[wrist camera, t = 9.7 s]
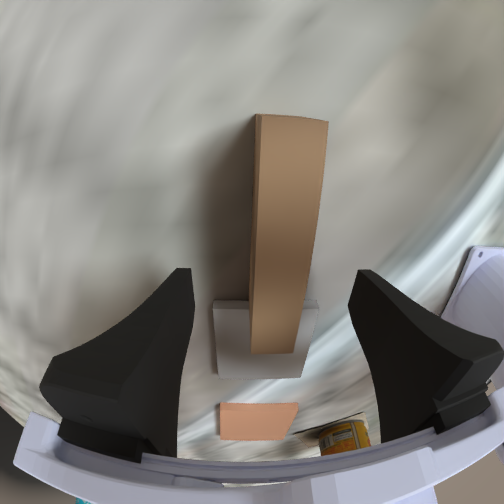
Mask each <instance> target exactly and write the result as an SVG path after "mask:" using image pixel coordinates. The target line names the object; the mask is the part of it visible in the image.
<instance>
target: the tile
mask: <svg viewBox="0 0 504 504" xmlns="http://www.w3.org/2000/svg"><path fill="white" fill-rule="evenodd" d="M298 410H299V409H298V403H278V404H245V403H220V440H246V441H257V440H283V439H284V437H285V435H286V433H287V431H288V430H289V428H290V426H291V424H292V422H293V420H294V418H295V416H296V414H297V412H298Z"/></svg>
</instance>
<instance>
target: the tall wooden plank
mask: <svg viewBox="0 0 504 504" xmlns="http://www.w3.org/2000/svg"><path fill="white" fill-rule="evenodd" d="M327 134H328V121H323V120H318V119H312V118H306V117H299V116H288V115H273V114H256V119H255V145H254V171H253V198H252V224H251V251H250V279H249V301H233V300H214V302H213V319H214V332H215V344H216V355H217V365H218V375H219V379H282V378H300V377H301V374H302V371H303V368H304V364H305V361H306V357H307V354H308V350H309V347H310V343H311V339H312V335H313V332H314V328H315V324H316V320H317V316H318V312H319V306H318V303H317V300H304V299H305V293H306V288H307V282H308V277H309V271H310V265H311V259H312V253H313V247H314V241H315V234H316V227H317V220H318V213H319V206H320V198H321V190H322V182H323V174H324V165H325V155H326V145H327Z"/></svg>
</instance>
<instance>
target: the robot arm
mask: <svg viewBox="0 0 504 504" xmlns="http://www.w3.org/2000/svg"><path fill="white" fill-rule="evenodd" d="M348 309H349V313H350V317H351V320H352V324H353V327H354V329H355V332H356V334H357V337H358V339H359V342H360V344H361V347H362V349H363V352H364V354H365V357H366V359H367V362H368V365H369V368H370V371H371V375H372V379H373V383H374V388H375V393H376V398H377V404H378V412H379V420H380V433H381V444H378V445H374V446H370V447H366V448H362V449H357V450H353V451H348V452H343V453H337V454H332V455H325V456H319V457H311V458H303V459H294V460H282V461H264V462H221V461H203V460H191V459H182V458H177V424H178V407H179V394H180V384H181V376H182V370H183V365H184V361H185V357H186V353H187V348H188V344H189V340H190V336H191V332H192V328H193V321H194V312H195V301H194V292H193V283H192V273H191V268H176V269H175V270H174V271H173V272H172V273H171V275H170V276H169V277H168V278H167V279H166V280H165V281H164V282H163V283H162V284H161V285H160V286H159V287H158V288H157V289H156V291H155V292H154V293H153V294H152V295H151V296H150V297H149V298H148V299H147V300H146V301H144V302H143V303H142V304H141V305H140V306H139V307H138V308H137V309H136V310H135V311H133V312H132V313H131V314H130V315H129V316H127V317H126V318H125V319H123V320H122V321H121V322H119V323H118V324H116V325H115V326H113V327H112V328H110V329H109V330H107V331H106V332H104V333H103V334H101V335H99V336H98V337H96V338H94V339H92V340H90V341H89V342H87V343H85V344H83V345H81V346H79V347H76V348H74V349H72V350H69V351H67V352H65V353H62V354H60V355H57V356H54V357H53V359H52V360H51V362H50V364H49V366H48V368H47V370H46V372H45V374H44V377H43V379H42V381H41V383H40V387H39V388H40V391H41V393H42V395H43V397H44V398H45V399H46V401H47V402H48V403H49V404H50V405H51V406H52V407H53V408H54V409H55V410H56V411H57V412H58V413H59V414H60V415H61V416H62V417H63V419H62V422H61V424H59V423H57V422H56V421H54V420H52V419H50V418H47V417H45V416H42V415H40V414H38V413H35V412H33V411H32V412H30V414H29V417H28V420H27V422H26V425H25V428H24V430H23V433H22V436H21V439H20V442H19V445H18V448H17V451H16V454H15V458H14V461H13V463H14V465H15V466H17V467H19V468H20V469H22V470H24V471H25V472H27V473H29V474H30V475H32V476H34V477H36V478H37V479H39V480H41V481H43V482H45V483H47V484H49V485H51V486H53V487H55V488H57V489H59V490H62V491H64V492H66V493H68V494H70V495H73V496H75V497H77V498H80V499H82V500H85V501H87V502H90V503H93V504H438V503H437V499H436V495H435V491H434V488H433V486H434V485H436V484H438V483H440V482H442V481H443V480H446V479H447V478H449V477H451V476H453V475H455V474H456V473H458V472H460V471H461V470H463V469H465V468H467V467H468V466H470V465H471V464H473V463H475V462H476V461H477V460H479V459H481V458H482V457H484V456H485V455H487V454H488V453H489V452H491V451H492V450H494V449H495V451H496V454H497V456H498V458H499V460H500V461H501V463H502V464H503V465H504V247H487V246H474V247H473V248H472V249H471V251H470V253H469V256H468V258H467V261H466V263H465V266H464V268H463V271H462V273H461V276H460V278H459V280H458V282H457V285H456V287H455V289H454V291H453V293H452V295H451V298H450V300H449V302H448V304H447V306H446V308H445V310H444V312H443V313H442V315H441V317H438V316H436V315H435V314H433V313H431V312H430V311H428V310H426V309H425V308H423V307H422V306H420V305H419V304H417V303H416V302H414V301H413V300H411V299H410V298H409V297H407V296H406V295H405V294H403V293H402V292H401V291H399V290H398V289H397V288H395V287H394V286H393V285H391V284H390V283H389V282H387V281H386V280H385V279H383V278H382V277H381V276H379V275H378V274H376V273H375V272H373V271H372V270H358V272H357V275H356V279H355V282H354V286H353V289H352V293H351V296H350V299H349V303H348ZM489 378H490V379H491V381H492V382H493V384H494V386H495V388H496V391H494V392H493V393H491V394H490V395H489V396H486V393H485V391H487V390H488V387H487V385H486V383H485V382H486V381H487V380H488V379H489ZM287 481H291V482H287ZM274 482H287V483H279V484H271V485H261V486H248V487H224V485H223V484H222V483H236V484H248V483H274Z"/></svg>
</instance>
